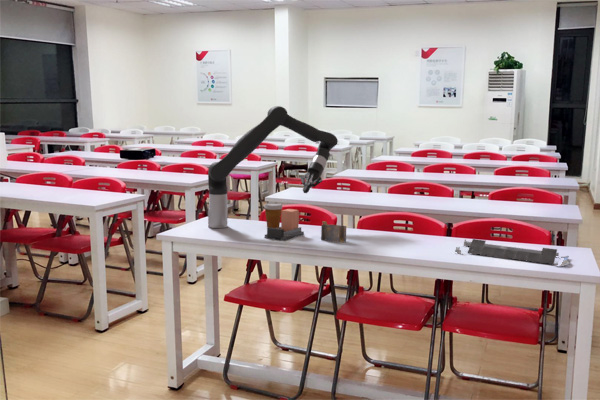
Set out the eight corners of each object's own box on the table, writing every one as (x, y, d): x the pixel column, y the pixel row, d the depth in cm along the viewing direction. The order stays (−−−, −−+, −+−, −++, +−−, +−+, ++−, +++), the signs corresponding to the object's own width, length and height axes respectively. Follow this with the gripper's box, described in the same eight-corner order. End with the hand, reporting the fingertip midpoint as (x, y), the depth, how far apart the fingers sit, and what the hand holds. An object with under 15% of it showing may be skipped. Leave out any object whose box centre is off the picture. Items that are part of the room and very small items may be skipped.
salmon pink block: (288, 228, 285) (288, 208, 284) (298, 230, 282) (298, 210, 281) (281, 230, 280) (281, 210, 279) (291, 232, 277) (291, 211, 276)
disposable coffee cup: (261, 228, 296) (261, 205, 295) (267, 224, 305) (267, 202, 304) (278, 229, 294) (279, 206, 292) (284, 226, 303) (285, 203, 301)
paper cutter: (465, 246, 263) (466, 234, 262) (573, 260, 240) (574, 247, 239) (453, 254, 248) (454, 241, 247) (567, 269, 225) (568, 256, 224)
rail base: (285, 231, 288) (285, 222, 287) (303, 234, 282) (303, 224, 281) (264, 237, 274) (264, 227, 273) (283, 240, 268) (283, 230, 267)
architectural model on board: (320, 241, 270) (321, 220, 269) (323, 239, 273) (323, 219, 271) (344, 243, 266) (344, 222, 264) (346, 242, 269) (346, 221, 267)
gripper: (303, 160, 301) (290, 186, 292) (325, 161, 294) (313, 188, 285) (309, 170, 306) (296, 195, 297) (330, 171, 299) (318, 197, 290)
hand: (304, 192), depth 291 cm, fingers closed
